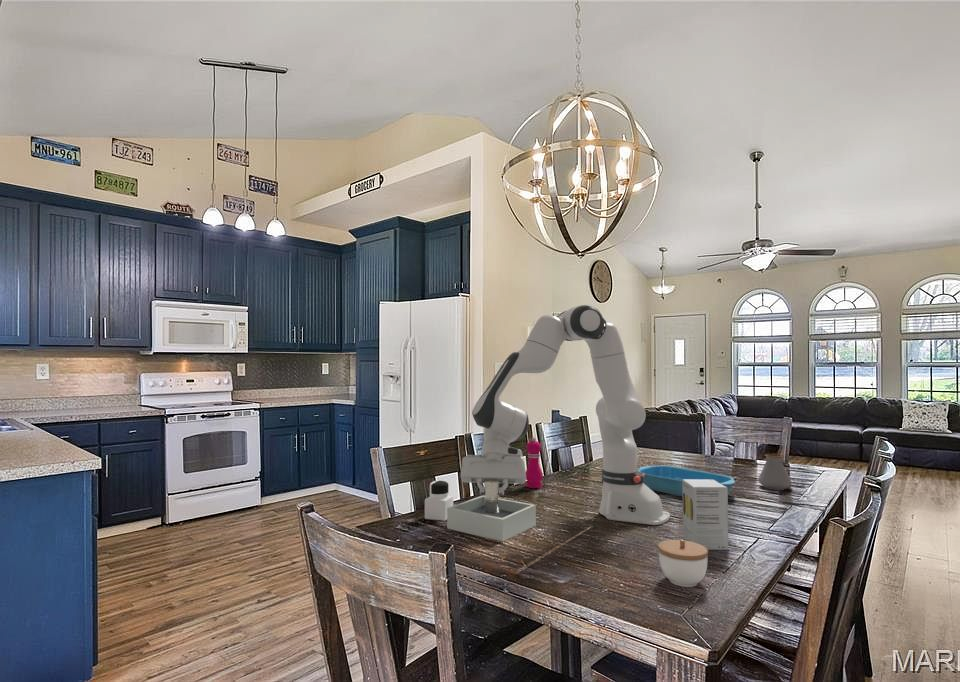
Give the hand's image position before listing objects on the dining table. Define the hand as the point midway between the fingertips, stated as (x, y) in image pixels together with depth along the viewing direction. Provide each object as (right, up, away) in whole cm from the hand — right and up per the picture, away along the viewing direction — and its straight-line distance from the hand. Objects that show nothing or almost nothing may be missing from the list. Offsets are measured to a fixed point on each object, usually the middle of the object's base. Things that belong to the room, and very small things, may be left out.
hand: (491, 494), depth 159 cm
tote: (0, -11, 0) cm, 11 cm away
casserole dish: (+76, -13, +46) cm, 90 cm away
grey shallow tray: (0, -10, 0) cm, 10 cm away
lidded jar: (+43, -9, -37) cm, 58 cm away
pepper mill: (+18, -13, +54) cm, 58 cm away
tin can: (0, -5, 0) cm, 5 cm away
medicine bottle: (-17, -12, +11) cm, 23 cm away
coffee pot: (+116, -12, +54) cm, 129 cm away
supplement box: (+59, -10, -13) cm, 61 cm away
